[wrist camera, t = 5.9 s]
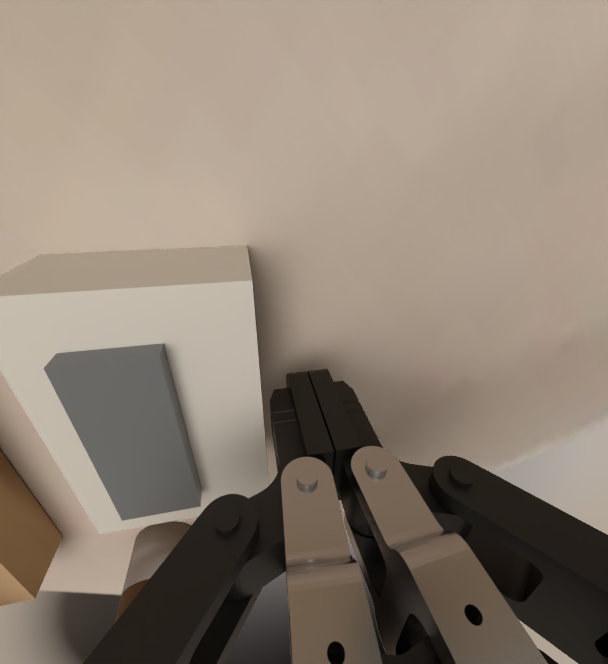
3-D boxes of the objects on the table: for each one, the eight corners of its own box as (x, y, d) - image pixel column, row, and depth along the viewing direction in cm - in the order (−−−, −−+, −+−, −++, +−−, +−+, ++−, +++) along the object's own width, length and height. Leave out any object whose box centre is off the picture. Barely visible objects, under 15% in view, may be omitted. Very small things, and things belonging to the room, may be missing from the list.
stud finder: (246, 243, 10) (253, 290, 7) (263, 432, 15) (272, 518, 11) (44, 252, 9) (-68, 311, 6) (128, 452, 14) (93, 553, 10)
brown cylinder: (192, 517, 17) (158, 829, 9) (202, 547, 18) (180, 834, 11) (128, 528, 16) (33, 872, 8) (143, 559, 18) (75, 871, 10)
